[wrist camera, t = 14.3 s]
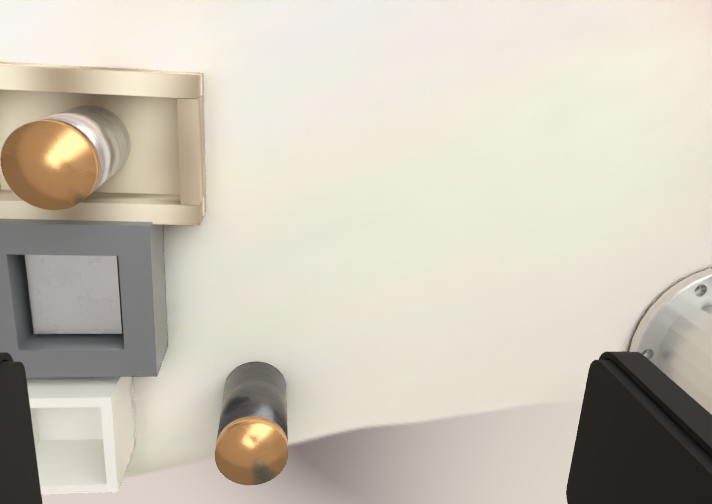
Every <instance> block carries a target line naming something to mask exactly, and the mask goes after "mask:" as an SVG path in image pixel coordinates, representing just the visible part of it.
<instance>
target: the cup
mask: <svg viewBox="0 0 712 504" xmlns="http://www.w3.org/2000/svg"><path fill="white" fill-rule="evenodd" d="M26 379H27V387H28V395H29V403H30V411H31V418H32V426H33V434H34V442H35V450H36V457H37V465H38V473H39V481H40V489H41V495H53V494H82V493H112V492H118V491H119V488H120V486H121V483H122V480H123V477H124V474H125V471H126V468H127V466H128V463H129V460H130V457H131V454H132V451H133V448H134V445H135V443H136V429H135V414H134V398H133V382H132V377H43V378H26Z"/></svg>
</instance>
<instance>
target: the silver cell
mask: <svg viewBox="0 0 712 504" xmlns="http://www.w3.org/2000/svg"><path fill="white" fill-rule="evenodd" d="M130 149H131V142H130V137H129V133H128V131H127V129H126V127H125V125H124V124H123V122H122V121H121V120H120V119H119V118H118V117H117V116H116V115H115V114H114V113H112V112H111V111H109V110H107V109H105V108H103V107H100V106H95V105H81V106H77V107H74V108H71V109H68V110H65V111H62V112H59V113H57V114H54V115H51V116H48V117H45V118H42V119H39V120H36V121H33V122H30V123H27V124H25V125H22V126H20V127H19V128H17V129H16V130H14V131H13V132H12V133H11V134H10V135H9V136H8V138H7V139H6V141H5V143H4V145H3V147H2V151H1V158H0V161H1V169H2V173H3V176H4V178H5V180H6V182H7V184H8V185H9V187H10V188H11V189H12V191H13V192H14V193H15V194H16V195H17V196H18V197H19V198H21V199H22V200H23V201H25V202H27V203H28V204H30V205H32V206H35V207H38V208H41V209H45V210H63V209H67V208H71V207H73V206H75V205H77V204H78V203H80V202H81V201H83V200H84V199H85V198H86V197H87V196H89V195H90V194H91V193H92V192H93V191H95V190H96V189H97V188H98V187H99V186H101V185H102V184H103V183H104V182H105V181H107V180H108V179H109V178H110V177H111V176H113V175H114V174H115V173H116V172H117V171H119V170H120V169H121V168H122V167H123V166H124V165H125V163H126V161H127V159H128V157H129V154H130Z"/></svg>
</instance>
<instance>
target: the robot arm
mask: <svg viewBox="0 0 712 504" xmlns="http://www.w3.org/2000/svg"><path fill="white" fill-rule="evenodd" d="M566 495H567V502H568V504H712V268H709V269H706V270H703V271H700V272H697V273H695V274H692V275H691V276H689V277H687V278H685V279H683V280H681V281H680V282H678V283H676V284H675V285H674V286H673V287H671V288H670V289H669V290H667V291H666V292H665V293H663V294H662V295H661V296H660V298H659V299H658V300H657V301H656V302H655V303H654V304H653V305H652V306H651V307H650V308H649V310H648V311H647V313H646V314H645V316H644V317H643V318H642V320H641V321H640V323H639V325H638V328H637V330H636V332H635V334H634V336H633V339H632V343H631V346H630V350H629V352H604V353H603V354H602V355H601V356H600V358H599V360H594V361H593V362H592V363H591V365H590V368H589V373H588V378H587V383H586V389H585V394H584V399H583V404H582V410H581V415H580V420H579V426H578V431H577V436H576V441H575V447H574V452H573V457H572V463H571V468H570V473H569V478H568V484H567V491H566ZM0 504H42V497H41V489H40V481H39V473H38V465H37V457H36V450H35V442H34V434H33V426H32V418H31V411H30V403H29V395H28V387H27V379H26V372H25V367H24V365H23V363H21V362H14V361H13V358H12V356H11V355H10V354H9V353H8V352H0Z"/></svg>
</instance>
